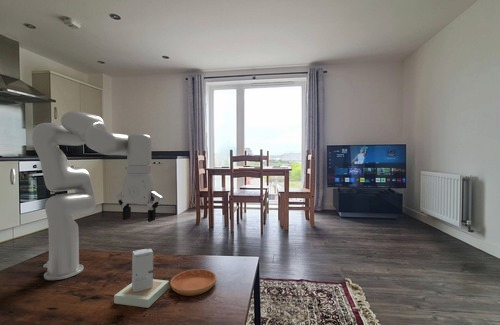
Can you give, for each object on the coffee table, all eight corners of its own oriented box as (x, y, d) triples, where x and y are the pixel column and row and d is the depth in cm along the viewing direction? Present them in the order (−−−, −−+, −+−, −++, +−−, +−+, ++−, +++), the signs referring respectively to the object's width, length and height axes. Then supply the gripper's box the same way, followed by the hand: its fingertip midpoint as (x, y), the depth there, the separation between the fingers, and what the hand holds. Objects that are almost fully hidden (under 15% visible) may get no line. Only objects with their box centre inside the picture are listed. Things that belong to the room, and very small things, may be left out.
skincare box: (133, 293, 79) (133, 255, 79) (131, 287, 82) (131, 251, 82) (153, 287, 82) (153, 251, 82) (150, 282, 86) (150, 247, 86)
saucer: (161, 289, 87) (160, 280, 87) (196, 272, 99) (196, 265, 99) (190, 305, 77) (190, 295, 77) (225, 284, 90) (225, 276, 90)
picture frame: (114, 303, 77) (114, 295, 77) (138, 284, 89) (138, 277, 89) (148, 307, 75) (148, 299, 75) (169, 287, 87) (169, 280, 87)
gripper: (109, 170, 83) (109, 220, 83) (155, 171, 79) (154, 224, 79) (125, 169, 90) (125, 215, 90) (168, 170, 86) (167, 219, 87)
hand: (139, 219), depth 85 cm, fingers open, 9 cm apart
